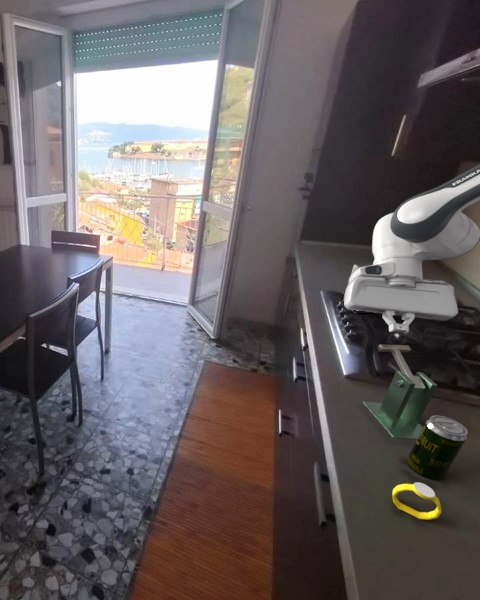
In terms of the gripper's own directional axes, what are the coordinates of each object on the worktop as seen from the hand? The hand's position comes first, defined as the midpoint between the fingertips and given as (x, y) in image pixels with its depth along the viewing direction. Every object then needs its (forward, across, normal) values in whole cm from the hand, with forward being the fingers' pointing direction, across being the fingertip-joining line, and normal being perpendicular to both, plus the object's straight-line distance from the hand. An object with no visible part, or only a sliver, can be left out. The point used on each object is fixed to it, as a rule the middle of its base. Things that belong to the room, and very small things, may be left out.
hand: (398, 332), depth 80 cm
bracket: (+19, -2, -7) cm, 21 cm away
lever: (+8, -1, -2) cm, 8 cm away
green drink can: (+29, -2, +2) cm, 29 cm away
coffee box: (-26, -12, -52) cm, 60 cm away
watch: (+36, +4, +10) cm, 38 cm away
